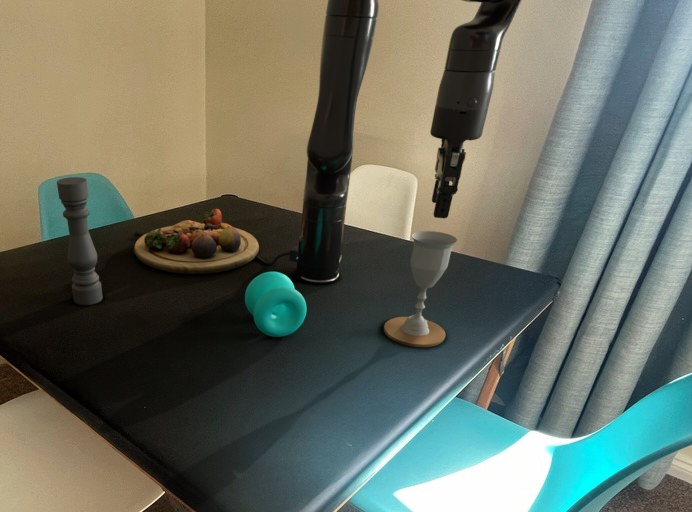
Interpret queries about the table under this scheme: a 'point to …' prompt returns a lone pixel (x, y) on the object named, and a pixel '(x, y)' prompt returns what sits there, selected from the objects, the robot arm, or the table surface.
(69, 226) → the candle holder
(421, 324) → the chalice
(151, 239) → the wooden plate
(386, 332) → the coaster
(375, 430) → the table surface
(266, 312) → the turquoise spool
